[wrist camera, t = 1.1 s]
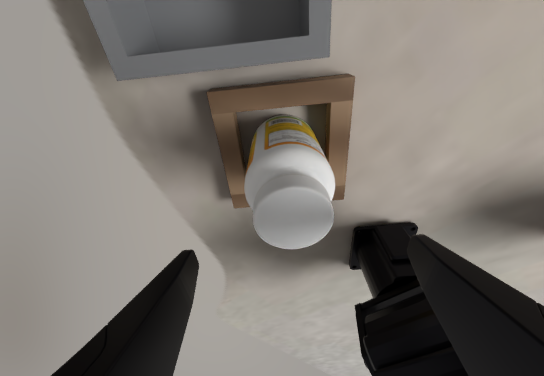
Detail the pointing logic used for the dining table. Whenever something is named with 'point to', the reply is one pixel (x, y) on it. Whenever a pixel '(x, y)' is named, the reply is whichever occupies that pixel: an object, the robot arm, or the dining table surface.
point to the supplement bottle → (289, 184)
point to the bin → (208, 34)
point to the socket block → (279, 95)
